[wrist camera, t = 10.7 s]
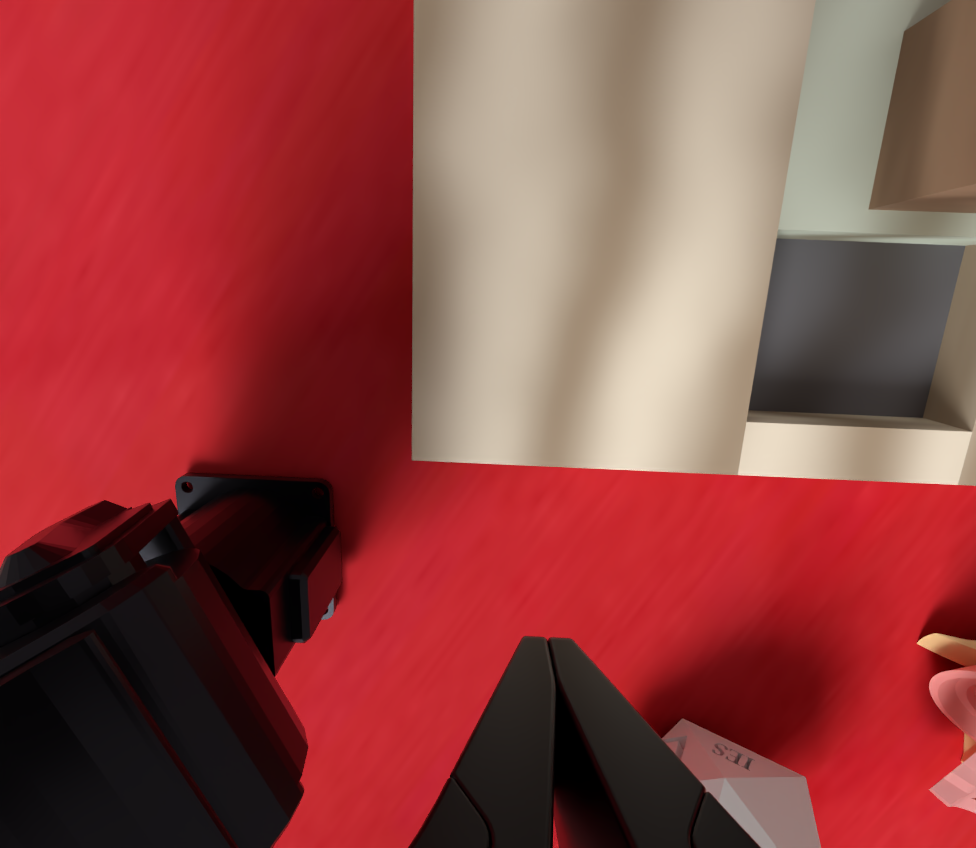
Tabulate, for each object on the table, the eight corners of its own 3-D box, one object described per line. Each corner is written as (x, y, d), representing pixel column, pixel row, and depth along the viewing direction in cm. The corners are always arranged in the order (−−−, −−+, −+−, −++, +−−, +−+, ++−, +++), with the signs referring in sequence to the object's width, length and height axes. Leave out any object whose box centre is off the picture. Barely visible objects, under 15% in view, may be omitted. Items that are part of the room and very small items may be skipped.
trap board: (421, 441, 21) (395, 489, 16) (428, -313, 16) (392, -629, 10) (978, 466, 21) (1140, 523, 16) (1193, -294, 15) (1560, -607, 10)
